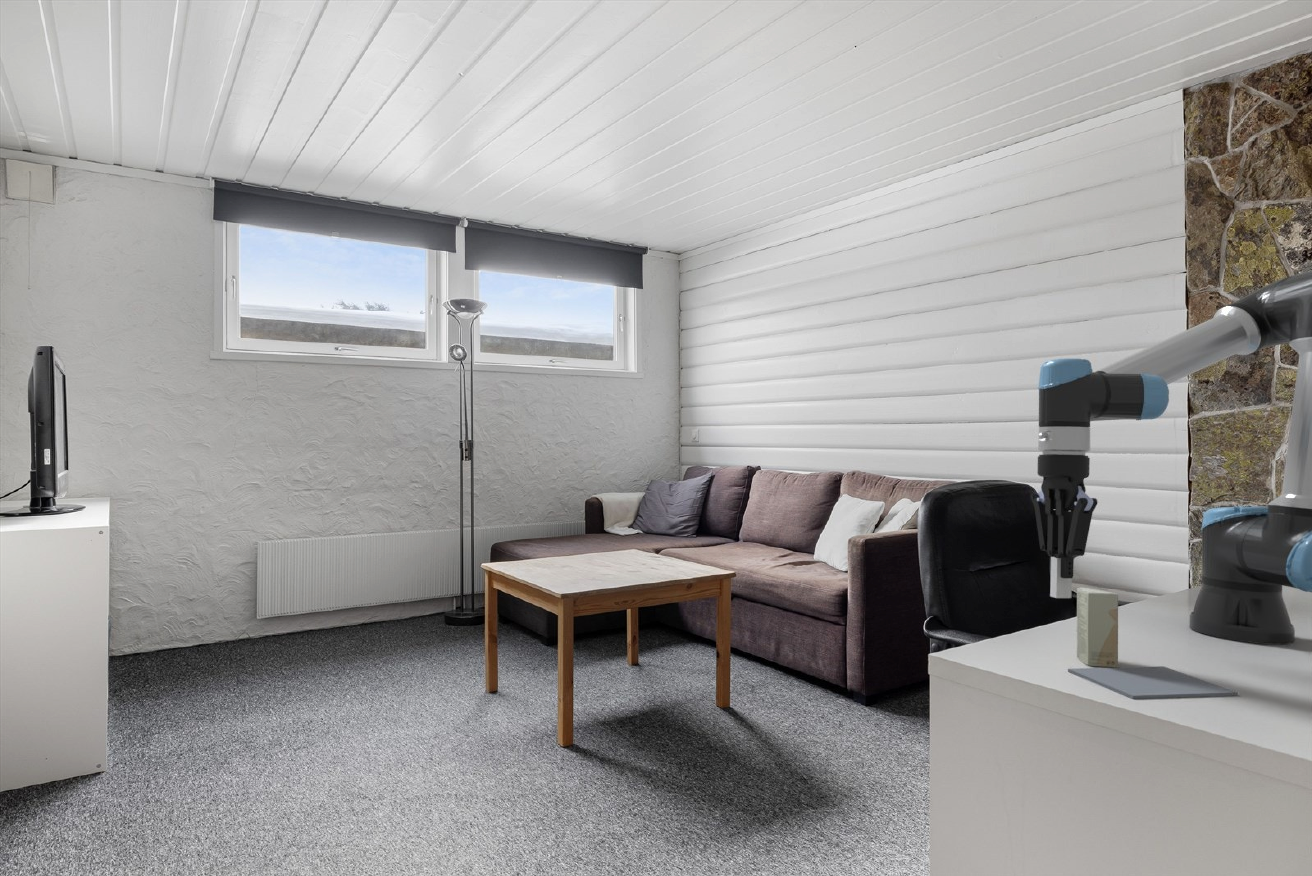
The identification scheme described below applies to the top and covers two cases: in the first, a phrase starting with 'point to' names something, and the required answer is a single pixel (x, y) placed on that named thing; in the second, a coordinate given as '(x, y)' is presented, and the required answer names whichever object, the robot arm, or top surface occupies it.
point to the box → (1097, 627)
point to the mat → (1151, 682)
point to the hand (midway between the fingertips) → (1060, 597)
